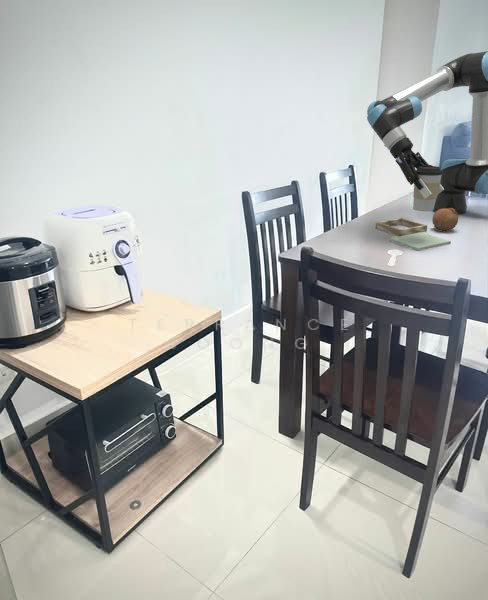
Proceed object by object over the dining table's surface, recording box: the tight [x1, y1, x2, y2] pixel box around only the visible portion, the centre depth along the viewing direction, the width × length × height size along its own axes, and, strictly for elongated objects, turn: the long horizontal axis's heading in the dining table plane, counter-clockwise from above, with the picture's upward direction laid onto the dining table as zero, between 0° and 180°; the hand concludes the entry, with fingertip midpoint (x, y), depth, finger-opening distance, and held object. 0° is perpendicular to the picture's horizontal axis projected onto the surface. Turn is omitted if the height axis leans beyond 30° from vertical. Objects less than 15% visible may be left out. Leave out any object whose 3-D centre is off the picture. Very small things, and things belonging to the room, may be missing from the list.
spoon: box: [386, 248, 404, 267], centre depth 149 cm, size 5×18×1 cm, turn 157°
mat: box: [389, 232, 452, 252], centre depth 163 cm, size 16×14×1 cm
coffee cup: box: [412, 164, 443, 212], centre depth 155 cm, size 9×9×15 cm
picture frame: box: [375, 217, 428, 237], centre depth 178 cm, size 14×14×2 cm
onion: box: [431, 208, 459, 232], centre depth 175 cm, size 10×9×10 cm
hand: (434, 194), depth 153 cm, fingers closed on coffee cup, 9 cm apart
